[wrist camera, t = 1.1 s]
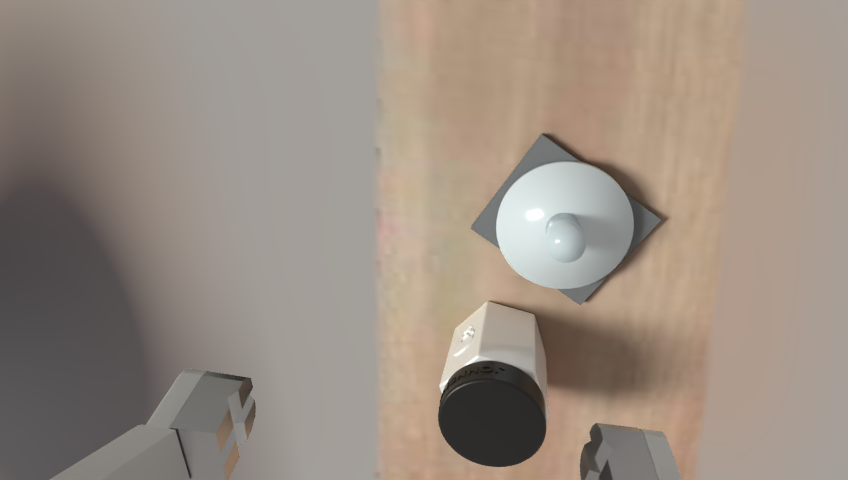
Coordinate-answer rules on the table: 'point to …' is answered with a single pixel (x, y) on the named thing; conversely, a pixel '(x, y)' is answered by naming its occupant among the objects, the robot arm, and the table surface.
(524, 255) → the lid
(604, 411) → the table surface
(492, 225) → the mat
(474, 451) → the jar
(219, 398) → the robot arm
